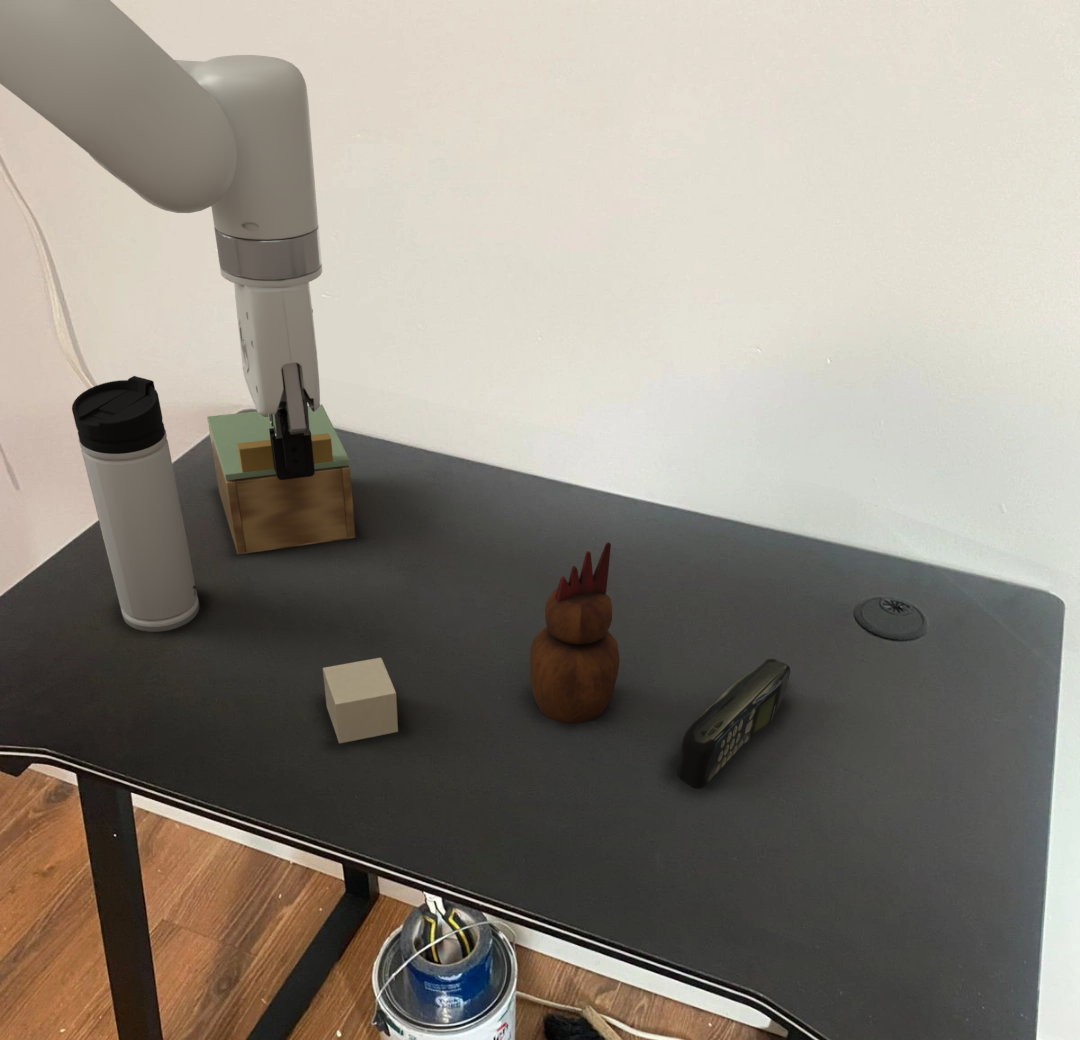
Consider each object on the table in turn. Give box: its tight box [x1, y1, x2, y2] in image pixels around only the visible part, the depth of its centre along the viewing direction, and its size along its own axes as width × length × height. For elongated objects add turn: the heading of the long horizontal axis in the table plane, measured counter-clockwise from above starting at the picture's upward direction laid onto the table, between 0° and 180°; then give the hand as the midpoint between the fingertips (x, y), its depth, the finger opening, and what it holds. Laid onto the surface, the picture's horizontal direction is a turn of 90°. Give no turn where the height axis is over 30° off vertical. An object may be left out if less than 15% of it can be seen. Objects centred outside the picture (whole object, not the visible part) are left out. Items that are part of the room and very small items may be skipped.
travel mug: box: [71, 375, 200, 633], centre depth 85 cm, size 6×7×20 cm
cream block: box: [322, 657, 399, 744], centre depth 81 cm, size 4×4×4 cm
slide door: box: [206, 404, 351, 480], centre depth 98 cm, size 11×12×3 cm
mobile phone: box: [676, 658, 791, 790], centre depth 81 cm, size 5×3×15 cm
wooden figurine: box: [529, 542, 620, 724], centre depth 80 cm, size 7×6×15 cm
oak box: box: [208, 426, 356, 555], centre depth 102 cm, size 11×12×8 cm
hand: (294, 473), depth 92 cm, fingers closed
